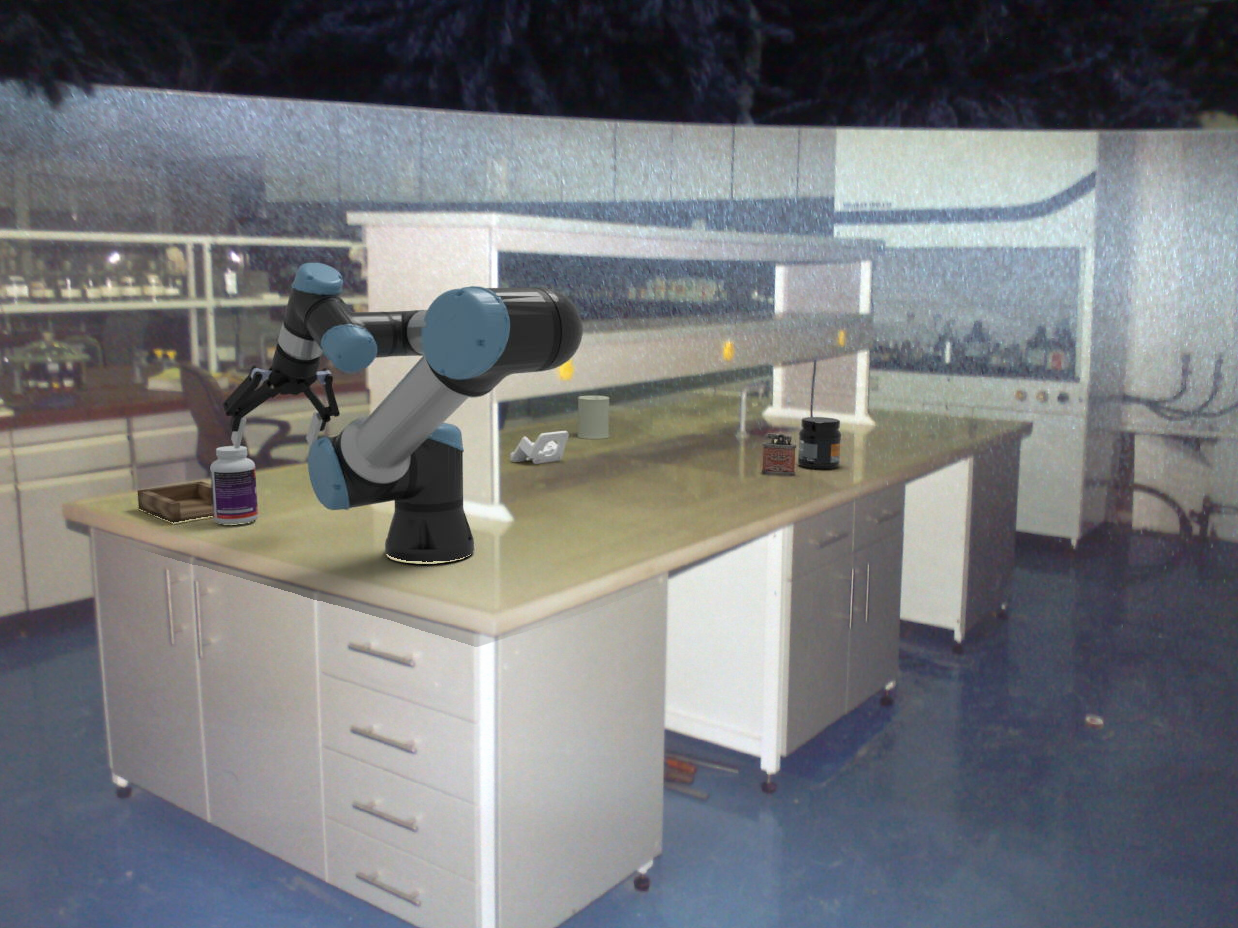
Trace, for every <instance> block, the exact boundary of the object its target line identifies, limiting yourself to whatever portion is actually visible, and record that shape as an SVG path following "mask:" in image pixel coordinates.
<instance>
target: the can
mask: <svg viewBox="0 0 1238 928" xmlns="http://www.w3.org/2000/svg"><path fill="white" fill-rule="evenodd" d="M577 403H578V404H577V405H578V407H577V409H578V413H577V414H578V415H577V417H578V418H577V423H578V424H577V425H578V426H577V430H578V431H577V438H580V439H583V440H604V439H609V438H610V434H609V433H610V432H609V430H610V428H609V426H610V425H609V422H610V421H609V420H610V414H609V413H610V396H605V395H581V396H578V397H577Z"/></svg>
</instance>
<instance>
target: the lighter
mask: <svg viewBox="0 0 1238 928" xmlns="http://www.w3.org/2000/svg"><path fill="white" fill-rule="evenodd" d="M792 437H793V436H792V435H787V434H785V433H779V434H777V433H766V434H765V439H767V440H770V442H766V441H765V442H762V449H763V450H762V469H761V474H762V475H766V474H768V475H769V476H777V475H779V476H778V477H780V476H782V477H795V476H796V471H795V465H796V463H795V462H796V449H797V444H796V443H791V442H792V439H793V438H792ZM775 440H776V441H775Z"/></svg>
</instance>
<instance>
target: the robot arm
mask: <svg viewBox="0 0 1238 928" xmlns="http://www.w3.org/2000/svg"><path fill="white" fill-rule="evenodd" d="M343 285H344V279H343V276H342V274H341V273H340V271H338V270H337V269H335V268H334V267H332V266H330V265H327V264H325V263H320V262H306V263H303V264H302V265H300V266H299V267H298V269H297V271H296V273H295V278H294V280H293V282H292V283H291V289H290V292H289V296H288V301H287V305H286V309H285V313H284V318H283V320H282V323H281V324H282V325H281V328H280V332H279V335H278V338H277V339H278V340H277V343H276V346H275V351H274V354H273V358H272V363H271V366H270V367H269V368H268V369H262V368H261V369H260V367H259V366H258V365H256V364H255V365H253V366H251V368H250V370H249V372H248V375H247V376H246V378H245V379H244V380H243V381H242V382H241V383H240V384H239V385H238V387H236V388H235V390H234V391H233V392H232V393H231V394H230V395H229V396H228V398H227V399H226V400H225V401H223V403H222V409H223V411H224V413H225V415H226V416H227V417H230V416H231V417H230V421H229V427H230V430H231V432H232V434H231V438H230V440H231V442H232V446H234V448H235V449H239V447H240V446H241V443H242V440H243V439H242V438H243V435H244V432H245V429H246V428H245V427H246V423H247V417H246V415H248V414H250V413H251V412H252V411H253V410H255V409H256V408H258V407H259V406H260V405H262V404H263V403H264V402H266V401H267V400H270V398H275V397H276V396H277V395H278V394H280V395H281V396H282V395H284V396H285V395H289V394H290V395H293V396H299V394H301V393H303V394H304V396H306V398H307V399H308V401H310V402H311V405H313V407H314V408H315V409H316V410H314V411H313V413H312V417H311V420H310V423H309V427H308V430H307V434H306V436H305V440H306V441H307V444H308V445H309V448H308V449H309V450H308V453H307V466H308V467H307V468H308V469H307V470H308V476H309V480H310V481H309V482H310V484H311V487H312V490H313V491H314V494H315V497H316V499H317V500H318V501H319V503H320V504H321V505H323V507H324V508H326V509H327V510H330V511H340V510H341V511H342V510H343V511H344V510H345V511H348V510H350V509H352V508H357V507H365V506H369V505H370V506H371V505H376V504H382V503H383V504H384V503H387V502H392V501H393V502H394V511H393V512H394V513H393V516H392V519H391V521H390V525H389V529H388V533H387V537H386V539H385V543H384V551H385V552H386V554H388V555H389V556H391V557H394V558H397V559H401V560H406V561H422V562H426V561H427V562H433V561H450V560H455V559H460V558H463V557H466V556H468V555H470V554H472V553H473V551H474V552H475V539H474V536H473V533H472V531H471V527H470V524H469V522H468V519H467V515H466V512H465V509H464V466H463V465H464V463H463V461H464V460H463V459H464V457H463V454H464V453H465V452H464V447H463V446H464V445H463V437H462V436H463V433H462V431H461V429H460V428H459V426H457V425H455V424H453V423H447V422H445V421H446V420H447V419H449V417H450V416H451V415H453V414H454V412H456V411H457V409H459V408H460V407H461V406H462V405H463V404H464V403H465V402H466V401H467V400H468V399H469V398H471V399H472V398H473V399H474V398H481V397H483V396H486V395H488V394H489V393H490V392H491V391H492V390H494V389H495V388H496V387H497V386H498V385H499V384H500V383H501V382H502V381H503V380H504V379H506V377H508V376H511V375H513V374H514V375H516V374H527V373H538V372H546V371H550V370H555V369H557V368H559V367H561V366H563V365H564V364H566V363H568V362H569V361H570V360H571V358H573V356H574V355H575V354H576V352H578V349H579V347H580V345H581V342H582V339H583V329H584V328H583V327H584V326H583V321H582V317H581V315H580V312H579V310H578V308H577V306H576V305H575V304H574V303H573V301H572V300H571V299H570V298H569V297H567V296H566V295H565V294H563V293H562V292H560V291H557V290H555V289H552V288H548V287H537V286H532V287H483V286H474V285H470V286H466V287H461V288H454V289H450V290H447V291H444V292H443V293H441V294H440V295H438V296H437V297H436V298H435V299H434V300H433V301H432V302H431V304H430V305H429V307H428V309H415V310H398V311H397V310H396V311H392V310H391V311H362V312H361V311H359V312H358V311H357V312H355V311H352V310H351V309H350V307H349V306H348V305H347V303H345V301H344V300H343V298H342V297H341V294H342V292H343ZM323 354H324V356H325V357H326V359H328V361H330V362H331V363H332V364H333V365H334V367H336V369H338V370H339V371H341V372H343V373H347V374H355V373H358V372H359V371H361V370H362V369H367V368H368V367H369V366H370V365H372V363H373V362H374V361H375V359H378V358H389V357H390V358H391V357H413V356H415V357H416V356H417V357H418V356H419V357H420V356H422V357H420V359H419V360H418V361H417V362H416V363H415V364H414V365H413V366H412V368H411V369H410V370H409V371H408V372H407V373H406V374H405V376H403V378H402V379H401V380H400V381H399V382H398V383H397V384H396V386H395V387H393V389H392V390H391V391H390V392H389V393H388V394H387V395H386V396H385V398H384V399H382V401H381V402H380V403H379V404H378V406H377V407H376V408H375V409H374V410H373V411H372V412H371V413H370V414H369V416H368V415H367V416H361V417H358V418H356V419H353V420H352V421H351V422H349V423H348V424H347V425H346V426H345V427H344V429H342V430H341V431H340V433H339V434H338V435H334V436H330V437H329V436H323V437H320V438H318V437H319V433H320V432H324V430H325V428H326V424H327V423H329V422H330V421H331V417H336V418H337V417H340V414H341V413H340V409H339V406H338V402H337V400H336V396H335V391H334V389H333V386H332V385H333V382H334V376H333V375H332V373H331V371H330V369H329V368H328V367H324V368H322V370H321V371H319V370H318V369H319V367H320V364H321V360H322V357H323V356H322V355H323ZM265 379H266V380H265ZM317 380H318V381H319V383H320V384H322V387H323V391H324V394H325V397H326V400H327V403H328V406H325V405H324V403H323V402H322V401H321V399H320V398H319V396H318V395H317V394H316V393H315V391H314V389H312V387H311V386H312V385H313V384H314V383H316V381H317ZM260 384H261V385H260ZM272 386H273V388H272ZM473 554H474V553H473ZM473 554H472V555H473Z"/></svg>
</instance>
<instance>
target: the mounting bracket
mask: <svg viewBox="0 0 1238 928" xmlns="http://www.w3.org/2000/svg"><path fill="white" fill-rule="evenodd" d="M569 435H570V434H569V432H568V431H567V430H561V431H560V430H559V431H551V432H542V433H540V434H539V435H538V437H537V438H536V440H535V442H534V441H531V440H530V439H529V438H528V437H527V436H526V435H525V436H523V437H521V440H520V441H519V443H518V445H517V446H516V448H515V449H514V451H512V452H511V453H510V454H509V455H510V461H512V463H520V462H527V461H532V463H533V464H534V465H538V464H547V463H552V462H553V463H554V462H560V461H561V460H562V459H563V455H564V452H565V449H566V445H567V442H568V439H569ZM556 442H557V443H556Z"/></svg>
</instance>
